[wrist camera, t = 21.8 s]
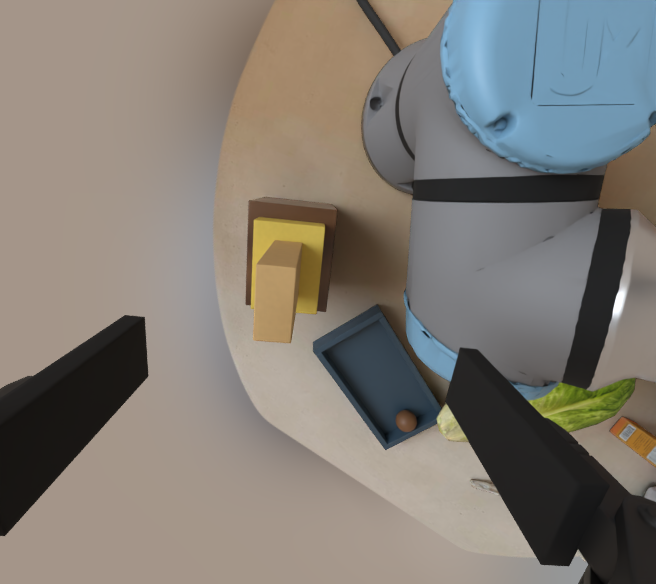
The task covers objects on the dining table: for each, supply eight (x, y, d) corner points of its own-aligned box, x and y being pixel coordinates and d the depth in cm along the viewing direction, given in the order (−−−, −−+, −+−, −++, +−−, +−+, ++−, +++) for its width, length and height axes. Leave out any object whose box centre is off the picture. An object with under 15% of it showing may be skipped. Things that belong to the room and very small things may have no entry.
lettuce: (415, 392, 41) (472, 498, 36) (606, 298, 37) (695, 404, 33) (418, 388, 52) (462, 469, 47) (565, 315, 48) (628, 396, 44)
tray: (313, 342, 44) (312, 351, 42) (377, 304, 43) (381, 311, 40) (382, 437, 50) (385, 450, 47) (440, 406, 48) (447, 418, 46)
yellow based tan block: (316, 305, 32) (316, 366, 21) (255, 299, 32) (223, 359, 21) (324, 223, 30) (329, 245, 19) (258, 216, 29) (224, 235, 18)
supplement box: (638, 421, 51) (712, 475, 41) (623, 437, 52) (692, 494, 42) (622, 414, 50) (694, 467, 41) (607, 430, 51) (674, 486, 42)
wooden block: (323, 283, 42) (326, 312, 32) (261, 277, 41) (245, 305, 32) (332, 204, 39) (337, 210, 29) (265, 196, 38) (248, 200, 29)
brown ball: (402, 439, 45) (400, 429, 48) (422, 430, 45) (418, 421, 48) (392, 420, 45) (391, 411, 48) (412, 411, 45) (409, 403, 48)
